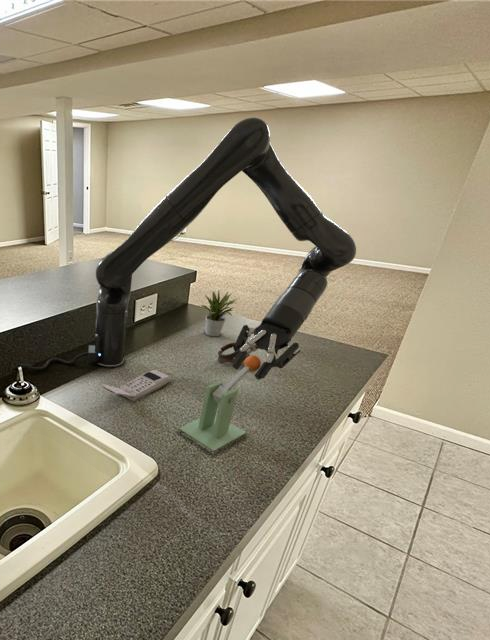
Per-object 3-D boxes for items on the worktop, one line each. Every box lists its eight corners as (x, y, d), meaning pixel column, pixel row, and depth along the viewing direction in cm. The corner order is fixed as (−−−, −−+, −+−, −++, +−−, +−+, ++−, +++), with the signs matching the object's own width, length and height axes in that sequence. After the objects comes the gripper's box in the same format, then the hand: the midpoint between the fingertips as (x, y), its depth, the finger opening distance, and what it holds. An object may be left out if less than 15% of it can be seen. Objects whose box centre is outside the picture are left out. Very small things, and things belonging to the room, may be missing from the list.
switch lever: (250, 360, 94) (249, 350, 92) (264, 366, 92) (263, 355, 89) (211, 400, 91) (208, 390, 89) (224, 407, 88) (222, 397, 86)
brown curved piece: (250, 376, 121) (241, 354, 118) (219, 380, 128) (210, 359, 124) (258, 353, 129) (250, 332, 125) (229, 357, 135) (221, 337, 132)
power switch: (210, 417, 101) (220, 372, 95) (245, 437, 94) (258, 390, 88) (178, 433, 95) (186, 386, 88) (212, 455, 88) (224, 406, 81)
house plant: (226, 346, 140) (236, 300, 132) (188, 336, 146) (195, 292, 138) (237, 333, 150) (247, 290, 142) (200, 325, 157) (208, 283, 149)
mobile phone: (100, 384, 102) (160, 356, 117) (98, 404, 105) (157, 374, 120) (117, 394, 98) (177, 363, 113) (115, 414, 101) (174, 382, 116)
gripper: (256, 295, 94) (214, 353, 94) (318, 312, 84) (270, 378, 84) (264, 312, 99) (224, 368, 99) (322, 331, 89) (278, 393, 89)
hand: (245, 372), depth 91 cm, fingers open, 5 cm apart
